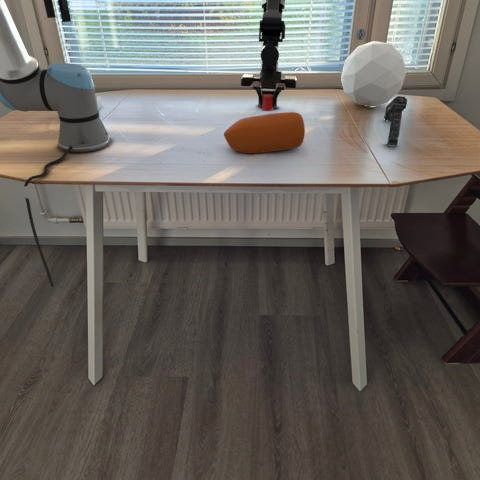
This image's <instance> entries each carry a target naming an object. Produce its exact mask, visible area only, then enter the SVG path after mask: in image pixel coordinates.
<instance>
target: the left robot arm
mask: <svg viewBox="0 0 480 480" xmlns="http://www.w3.org/2000/svg"><path fill="white" fill-rule="evenodd" d="M42 1H43V4H44V9H45V13H46V17H47V19H54V18H56V17H57V16H56V12H55V8H54V7H55V6H54V3H53V0H42ZM57 4H58V8H59V13H60V17H61V22H62V23H68V22H70V23H71V22H72V18H71V14H70V13H71V12H70V9H69V3H68V0H57ZM46 67H47V68H44V69H43V68H41V67H40V65H39V63H38V60H37V59H36V58H35V57H34V56H31V55H29V53H28V51H27V49H26V46H25V45H24V42H23V39H22V38H21V36H20V33H19V31H18V29H17V27H16V24H15V22H14V20H13V18H12V14H11V13H10V10H9V8H8V5H7V3H6V1H5V0H0V103H1V104H2V105H3V106H4V107H5V108H7V109H9V110H12V111H16V112H17V111H18V112H57V114H58V118H59V132H58V133H59V134H58V145H59V148H60V149H61V150H62V151H64V153H63V154H62V155H61V157H59V158H58V159H55V160H52V161H50V162H48V163H46V164H45V165H44V167H43V172H42V173H40V174H36V175H32V176H30V177H28V178H27V179H26V180H25V182H24V184H23V187H28V186H29V183H31V181H33V180H36V179H39V178H43V177H45V176H46V175H47V173H48V168H49V167H50V166H53V165H55V164H58V163H60V162H61V161H63V160H64V159H65V158H66V157H67V155H68V153H74V154H76V153H77V154H81V153H82V154H83V153H90V152H96V151H99V150H102V149H104V148H106V147H107V146H108V145H109V144H110V143H111V140H110V139H111V138H110V135H109V133H108V130H107V129H106V127H105V125H104V123H103V121H102V120H101V116H100V112H99V110H98V105H97V100H96V95H97V94H96V89H95V83H94V81H93V75H92V73H91V71H90V70H89V69H88V68H87V67H85V66H83V65H80V64H76V63H70V62H69V63H68V62H60V63H59V62H55V63H51V64H48V65H47V66H46ZM24 199H25V204H26V208H27V209H26V210H27V214H28V219H29V223H30V228H31V232H32V236H33V238H34V241H35V244H36V248H37V251H38V253H39V255H40V258H41V261H42V264H43V266H44V270H45V273H46V275H47V278H48V281H49V284H50V287H51V288H53V287H54V286H55V285H54V282H53V279H52V276H51V272H50V269H49V266H48V264H47V261H46V259H45V256H44V253H43V250H42V247H41V244H40V241H39V238H38V234H37V231H36V227H35V223H34V219H33V214H32V210H31V209H32V208H31V203H30V199H29V198H28V197H24Z"/></svg>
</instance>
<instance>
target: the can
mask: <svg viewBox="0 0 480 480" xmlns="http://www.w3.org/2000/svg"><path fill="white" fill-rule="evenodd" d="M261 110H262V111H265V112H271V111H273V110H274V109H273V95H271V94H264V95H263V96H262V108H261Z"/></svg>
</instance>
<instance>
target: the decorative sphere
mask: <svg viewBox="0 0 480 480" xmlns="http://www.w3.org/2000/svg"><path fill="white" fill-rule="evenodd" d="M407 72H408V71H407V68H406V65H405V61H404V57H403V55H402V54H401V52H400V51H398V49H397V48H396V47H395V46H394V44H392V43H389V42H382V41H376V40H371V41H369V42H367V43H364V44H361V45H358V46H357V47H356V48H355V49H354V50H353V51H352V52H351V53H350V54H349V55H348V57H347V58H346V59H345V60H344V63H343V66H342V71H341V74H340V75H341V76H340V82H341V85H342V89H343V90H342V91H343V93H344V95H345V96H346V97H348V98H349V100H351V101H352V102H353V101H354V102H353V103H355V104H356V105H359V106H362V105H367V106H376V107H369V109H374V108H377V107H379V106H382V105H384V104H387V103H389V102H390V101H391V100H392V99H394V98H395V96H396V95H397V94H398V93H399V92H400V91H401V90H402V87H403V84H404V82H405V78H406V75H407ZM381 104H382V105H381ZM378 105H379V106H378ZM367 106H365V107H366V108H368V107H367Z"/></svg>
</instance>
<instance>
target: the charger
mask: <svg viewBox="0 0 480 480" xmlns="http://www.w3.org/2000/svg"><path fill="white" fill-rule="evenodd" d="M96 100H97V105H98V111H99V110H100V109H101V108H102V107H103V102H102V96H100V95H99V94H96Z"/></svg>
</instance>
